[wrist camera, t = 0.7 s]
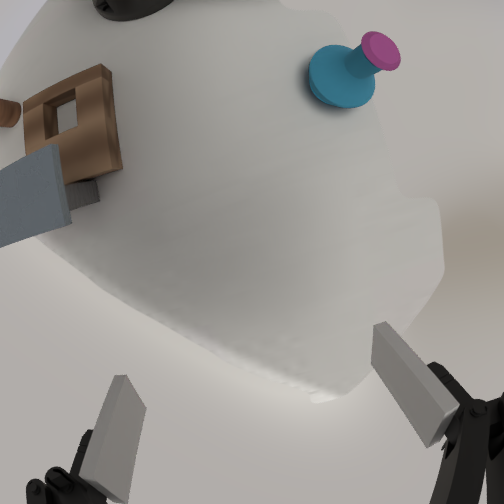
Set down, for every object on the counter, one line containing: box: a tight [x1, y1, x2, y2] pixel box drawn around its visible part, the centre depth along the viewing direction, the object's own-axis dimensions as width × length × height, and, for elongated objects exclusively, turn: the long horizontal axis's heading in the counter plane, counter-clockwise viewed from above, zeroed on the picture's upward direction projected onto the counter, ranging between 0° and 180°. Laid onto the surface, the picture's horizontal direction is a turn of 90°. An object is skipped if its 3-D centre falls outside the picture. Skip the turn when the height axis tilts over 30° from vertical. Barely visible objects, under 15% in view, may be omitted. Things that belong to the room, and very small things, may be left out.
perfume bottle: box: [309, 32, 401, 108], centre depth 26 cm, size 9×9×15 cm
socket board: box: [23, 64, 123, 185], centre depth 29 cm, size 15×14×4 cm
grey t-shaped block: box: [0, 144, 100, 248], centre depth 26 cm, size 7×12×17 cm, turn 99°
